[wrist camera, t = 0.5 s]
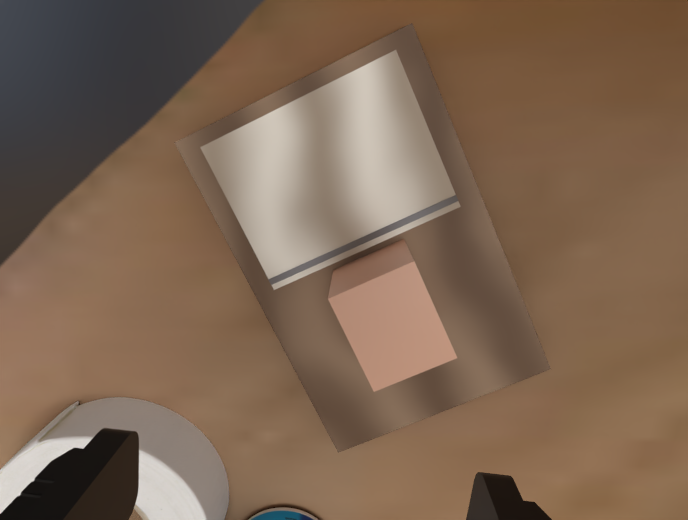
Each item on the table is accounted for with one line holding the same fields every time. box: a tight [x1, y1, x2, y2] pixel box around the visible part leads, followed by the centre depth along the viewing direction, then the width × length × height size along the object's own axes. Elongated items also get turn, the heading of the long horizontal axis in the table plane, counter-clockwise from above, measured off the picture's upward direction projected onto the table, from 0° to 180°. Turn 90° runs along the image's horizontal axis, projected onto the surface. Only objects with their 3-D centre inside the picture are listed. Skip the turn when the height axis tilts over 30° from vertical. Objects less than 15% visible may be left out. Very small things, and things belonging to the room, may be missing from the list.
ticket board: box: [175, 23, 550, 453], centre depth 32 cm, size 16×24×2 cm, turn 25°
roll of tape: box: [0, 397, 229, 520], centre depth 36 cm, size 16×16×6 cm
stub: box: [328, 239, 457, 392], centre depth 29 cm, size 5×6×6 cm
